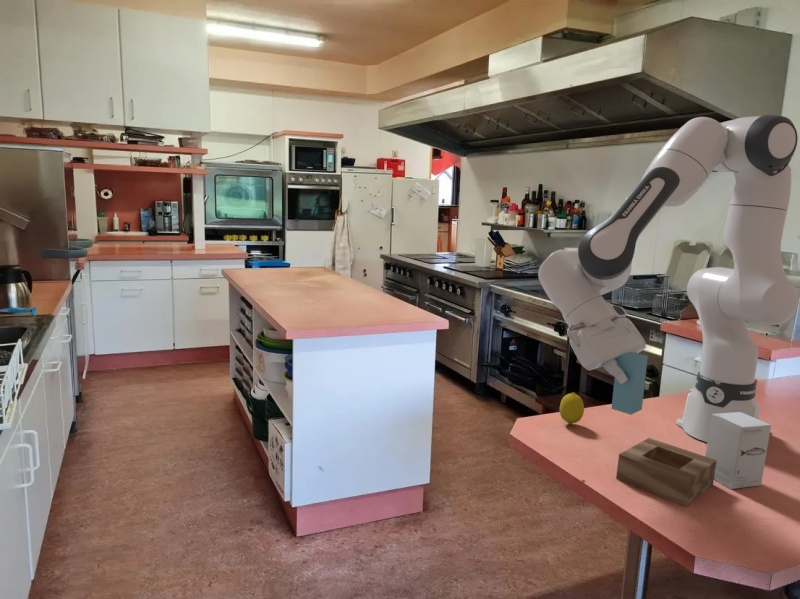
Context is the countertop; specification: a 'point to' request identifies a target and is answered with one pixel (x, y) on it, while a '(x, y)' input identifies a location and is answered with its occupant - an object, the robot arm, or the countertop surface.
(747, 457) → the supplement box
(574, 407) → the lemon
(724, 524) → the countertop surface
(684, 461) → the well block
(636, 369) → the blue square pillar
